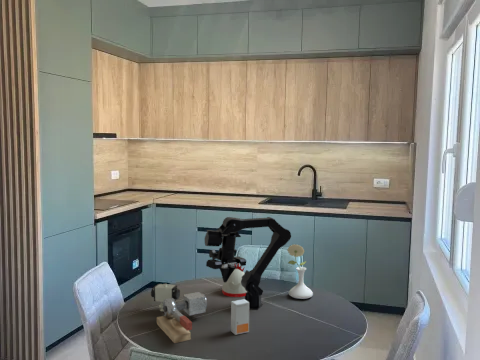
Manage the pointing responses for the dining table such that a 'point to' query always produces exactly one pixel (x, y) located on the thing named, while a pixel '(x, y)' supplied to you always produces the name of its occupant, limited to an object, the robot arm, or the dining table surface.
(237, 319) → the skincare box
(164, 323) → the oak cradle
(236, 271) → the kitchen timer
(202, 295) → the cube on metal disc
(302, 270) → the flower in vase
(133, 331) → the dining table surface
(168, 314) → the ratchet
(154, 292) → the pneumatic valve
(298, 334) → the dining table surface
